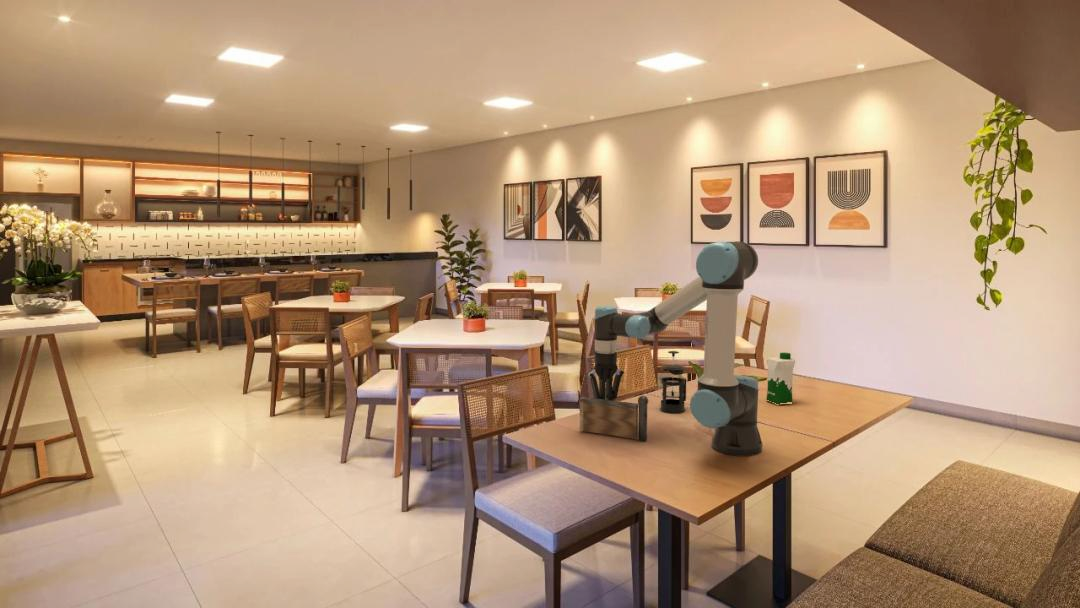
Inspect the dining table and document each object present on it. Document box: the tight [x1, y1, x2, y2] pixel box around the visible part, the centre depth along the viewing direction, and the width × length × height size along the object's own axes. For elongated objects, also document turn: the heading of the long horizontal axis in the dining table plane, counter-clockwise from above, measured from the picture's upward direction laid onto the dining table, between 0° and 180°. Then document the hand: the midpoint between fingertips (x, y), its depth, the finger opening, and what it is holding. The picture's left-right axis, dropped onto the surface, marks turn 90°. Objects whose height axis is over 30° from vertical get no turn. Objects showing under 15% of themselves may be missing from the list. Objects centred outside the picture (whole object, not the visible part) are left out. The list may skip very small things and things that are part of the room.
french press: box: [659, 350, 687, 415], centre depth 238 cm, size 12×9×23 cm
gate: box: [579, 396, 639, 440], centre depth 208 cm, size 20×2×11 cm, turn 62°
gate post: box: [637, 395, 649, 443], centre depth 203 cm, size 3×3×15 cm
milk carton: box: [765, 352, 796, 404], centre depth 248 cm, size 9×9×20 cm
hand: (605, 419), depth 214 cm, fingers closed
